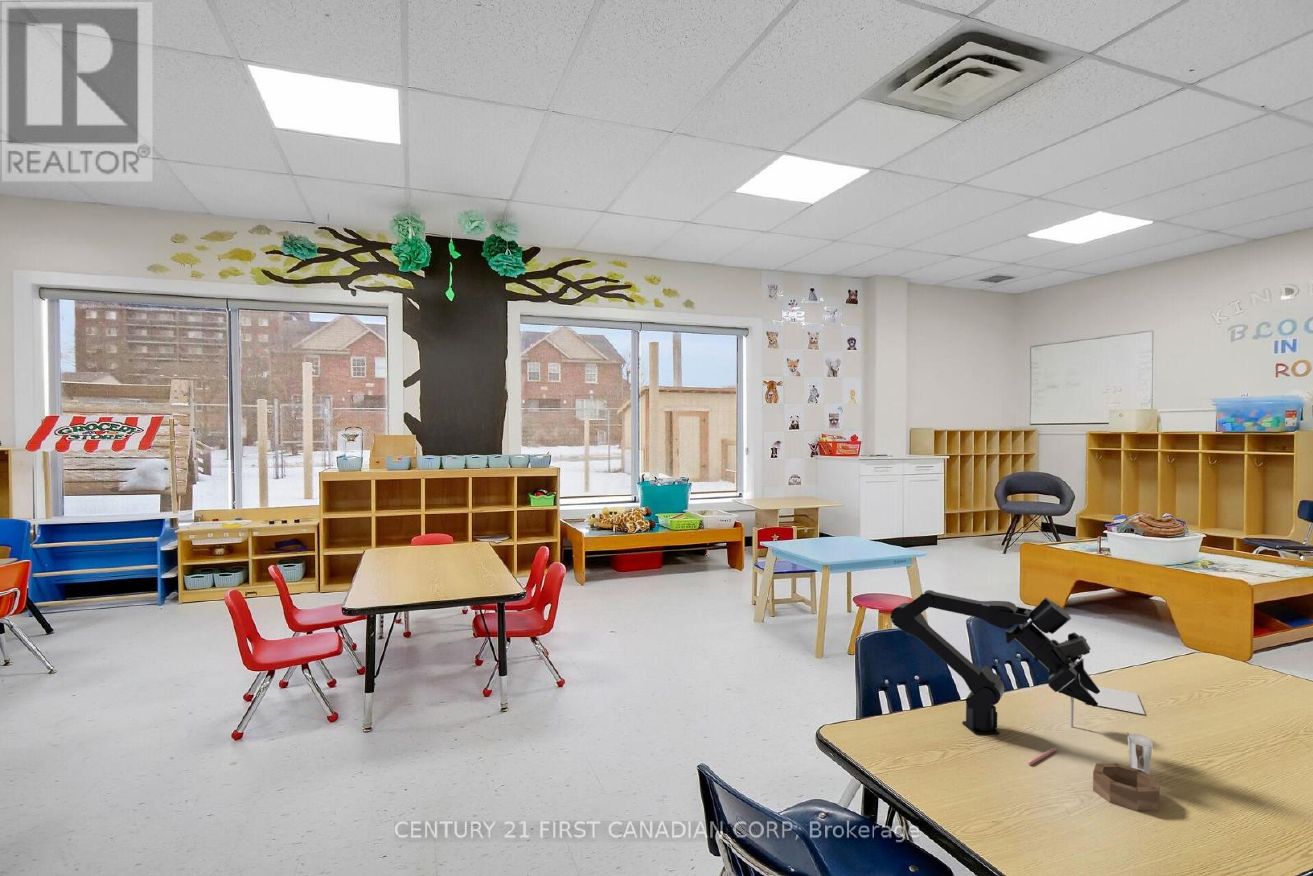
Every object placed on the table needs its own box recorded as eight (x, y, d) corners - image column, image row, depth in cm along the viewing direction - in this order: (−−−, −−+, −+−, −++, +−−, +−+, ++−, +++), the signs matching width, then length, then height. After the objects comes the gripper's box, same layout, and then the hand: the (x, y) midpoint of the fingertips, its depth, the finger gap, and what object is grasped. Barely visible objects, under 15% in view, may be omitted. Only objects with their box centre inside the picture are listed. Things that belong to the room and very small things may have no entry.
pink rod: (1030, 766, 146) (1031, 762, 146) (1027, 764, 146) (1027, 761, 146) (1056, 751, 153) (1056, 747, 153) (1053, 749, 154) (1053, 746, 154)
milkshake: (1118, 771, 144) (1119, 727, 144) (1140, 770, 144) (1141, 727, 144) (1135, 782, 139) (1135, 737, 139) (1157, 781, 140) (1158, 736, 140)
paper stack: (1177, 703, 183) (1177, 700, 183) (1196, 738, 161) (1196, 735, 161) (1080, 685, 195) (1080, 683, 195) (1085, 716, 173) (1085, 713, 173)
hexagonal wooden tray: (1122, 812, 128) (1122, 792, 128) (1081, 782, 139) (1082, 763, 139) (1173, 810, 129) (1173, 790, 129) (1128, 780, 140) (1128, 762, 140)
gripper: (1060, 633, 146) (1124, 690, 138) (1068, 616, 160) (1126, 666, 153) (1024, 663, 150) (1084, 720, 143) (1034, 643, 165) (1089, 694, 158)
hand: (1097, 699), depth 149 cm, fingers open, 9 cm apart
